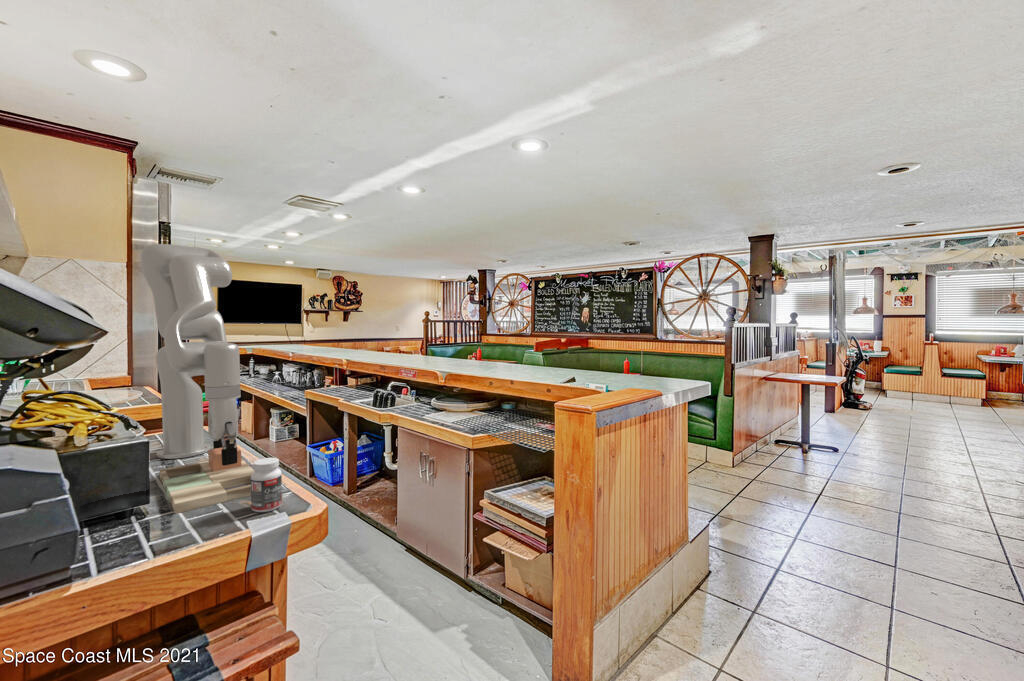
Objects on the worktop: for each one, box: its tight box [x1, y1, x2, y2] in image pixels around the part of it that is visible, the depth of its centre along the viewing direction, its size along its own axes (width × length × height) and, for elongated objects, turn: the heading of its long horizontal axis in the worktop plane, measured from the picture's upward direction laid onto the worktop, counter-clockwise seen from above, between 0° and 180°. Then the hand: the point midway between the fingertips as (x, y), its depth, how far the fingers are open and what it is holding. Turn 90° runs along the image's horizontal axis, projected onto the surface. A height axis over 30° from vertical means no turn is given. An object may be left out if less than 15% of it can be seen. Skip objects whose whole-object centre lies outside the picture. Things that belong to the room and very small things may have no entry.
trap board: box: [158, 457, 255, 514], centre depth 107 cm, size 27×17×2 cm, turn 43°
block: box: [207, 446, 242, 471], centre depth 114 cm, size 6×6×4 cm
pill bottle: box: [250, 457, 283, 513], centre depth 94 cm, size 6×6×10 cm
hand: (225, 459), depth 114 cm, fingers open, 9 cm apart
